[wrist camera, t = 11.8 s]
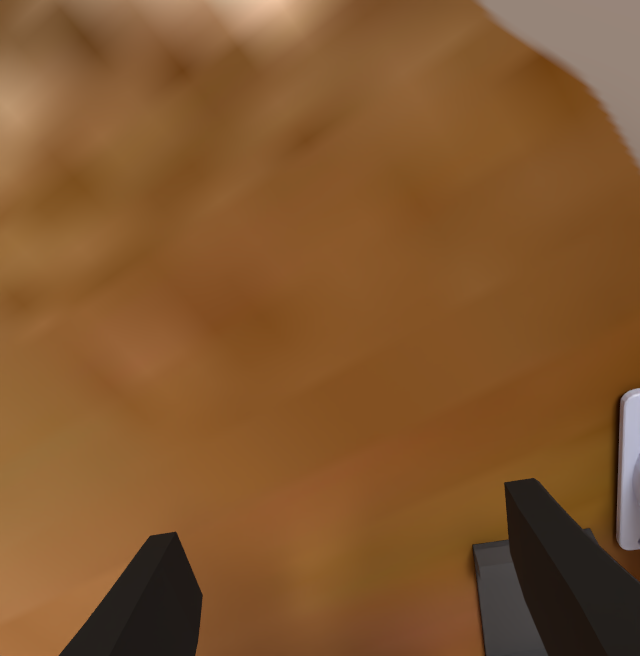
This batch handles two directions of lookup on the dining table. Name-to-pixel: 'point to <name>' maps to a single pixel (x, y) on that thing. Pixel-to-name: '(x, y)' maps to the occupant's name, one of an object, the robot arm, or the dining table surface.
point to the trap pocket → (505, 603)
